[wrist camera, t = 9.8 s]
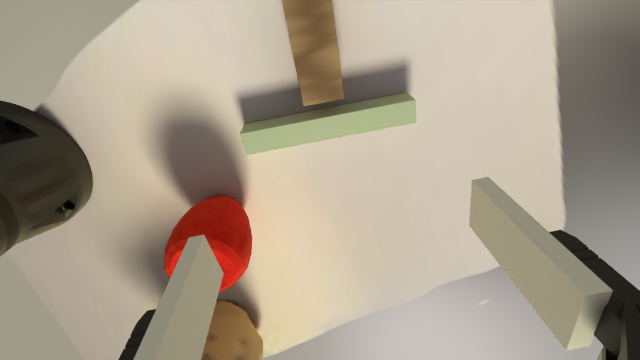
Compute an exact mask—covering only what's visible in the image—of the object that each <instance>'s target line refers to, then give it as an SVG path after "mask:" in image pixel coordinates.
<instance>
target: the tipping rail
mask: <svg viewBox="0 0 640 360" xmlns="http://www.w3.org/2000/svg"><path fill="white" fill-rule="evenodd" d="M411 123H416V107H415V99H414V98H412V97H411V96H410V95H409V94H408V93H407V92H406V93H400V94H395V95H390V96H385V97H380V98H375V99H370V100H365V101H360V102H355V103H349V104H344V105H339V106H334V107H329V108H324V109H319V110H314V111H309V112H303V113H298V114H293V115H288V116H283V117H278V118H273V119H268V120H263V121H258V122H252V123H247V124H244V126H243V128H242V131H241V133H240V136H241V139H242V142H243V145H244V148H245V151H246V154H247V155H249V154H254V153H260V152H265V151H270V150H275V149H280V148H286V147H291V146H296V145H301V144H306V143H312V142H317V141H322V140H327V139H333V138H338V137H343V136H348V135H353V134H359V133H364V132H369V131H374V130H380V129H385V128H390V127H395V126H400V125H406V124H411Z"/></svg>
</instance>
